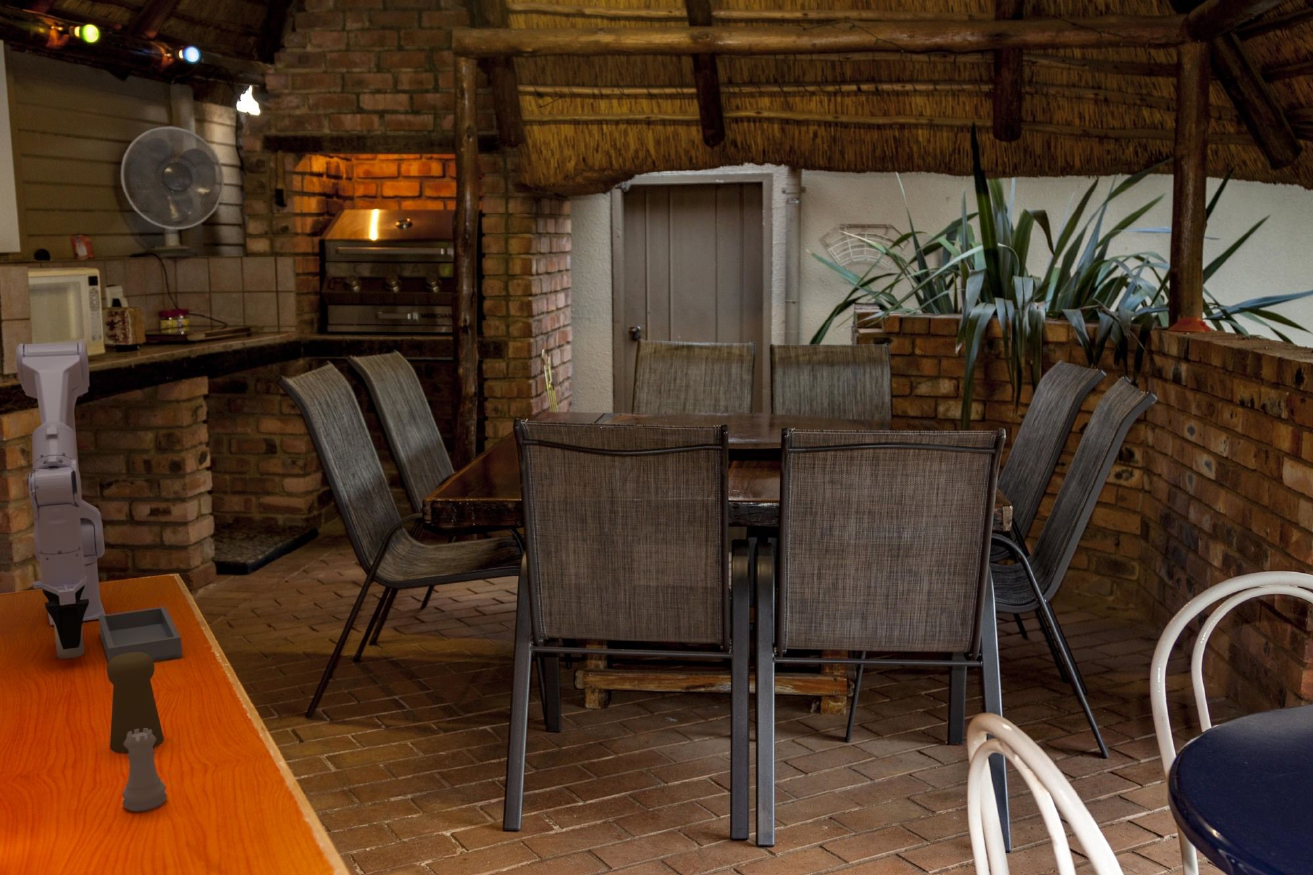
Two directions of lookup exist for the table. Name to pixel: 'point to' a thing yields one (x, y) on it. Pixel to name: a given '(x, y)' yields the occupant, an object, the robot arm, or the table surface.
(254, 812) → the table surface
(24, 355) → the robot arm
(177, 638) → the trough
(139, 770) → the rook chess piece
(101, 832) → the table surface
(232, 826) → the table surface
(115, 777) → the table surface
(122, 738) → the cork
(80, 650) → the cell
